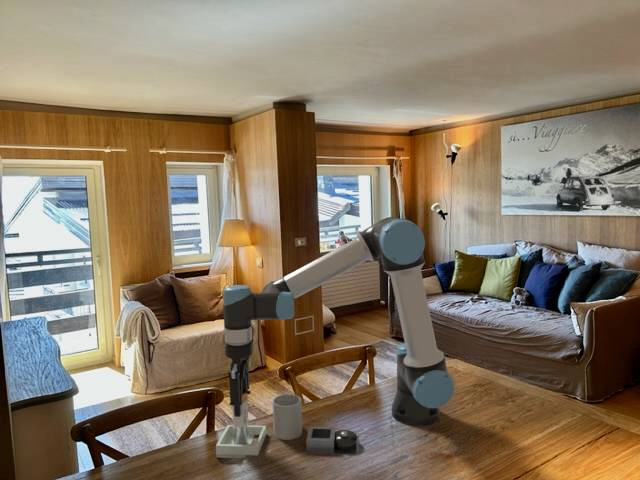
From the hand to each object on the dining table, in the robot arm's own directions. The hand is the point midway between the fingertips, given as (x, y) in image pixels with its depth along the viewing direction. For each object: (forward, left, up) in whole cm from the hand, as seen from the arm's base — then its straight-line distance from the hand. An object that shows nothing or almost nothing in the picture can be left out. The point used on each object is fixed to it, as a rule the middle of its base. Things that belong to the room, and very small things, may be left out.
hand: (241, 421), depth 136 cm
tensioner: (-26, -1, -7) cm, 27 cm away
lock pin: (0, 0, -6) cm, 6 cm away
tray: (0, 0, -8) cm, 8 cm away
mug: (-12, -9, -8) cm, 17 cm away
